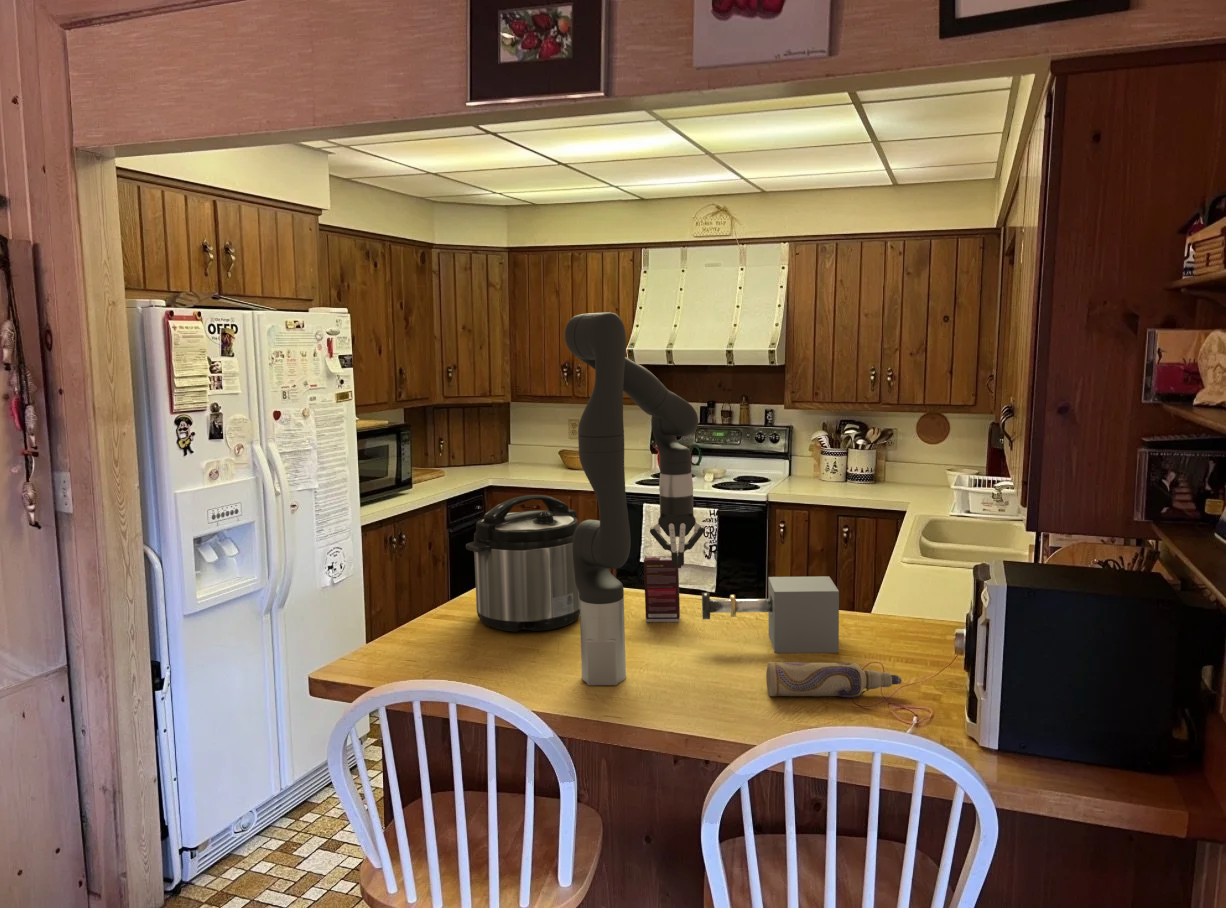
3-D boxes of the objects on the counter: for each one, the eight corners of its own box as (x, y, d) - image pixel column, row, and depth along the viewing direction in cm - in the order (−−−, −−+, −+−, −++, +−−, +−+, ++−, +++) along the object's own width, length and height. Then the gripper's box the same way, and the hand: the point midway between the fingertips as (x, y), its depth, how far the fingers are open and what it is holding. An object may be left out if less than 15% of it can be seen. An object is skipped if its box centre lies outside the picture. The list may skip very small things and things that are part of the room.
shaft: (795, 622, 200) (795, 596, 199) (703, 622, 201) (702, 597, 200) (791, 614, 206) (791, 588, 205) (702, 614, 207) (701, 589, 206)
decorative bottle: (769, 703, 172) (769, 670, 171) (765, 688, 179) (765, 656, 178) (906, 703, 170) (906, 669, 169) (896, 688, 177) (897, 655, 176)
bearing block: (838, 652, 197) (838, 591, 195) (774, 652, 198) (774, 591, 196) (828, 634, 209) (829, 576, 207) (768, 634, 210) (768, 576, 208)
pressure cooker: (586, 598, 243) (582, 483, 238) (594, 632, 215) (589, 503, 211) (474, 604, 240) (468, 488, 236) (468, 640, 212) (461, 509, 208)
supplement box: (680, 616, 225) (679, 555, 223) (679, 622, 220) (678, 560, 218) (646, 616, 226) (644, 555, 224) (644, 622, 221) (643, 560, 219)
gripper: (646, 496, 197) (648, 572, 199) (706, 495, 196) (708, 571, 199) (647, 490, 204) (649, 563, 207) (705, 488, 204) (706, 562, 206)
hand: (678, 567), depth 203 cm, fingers closed
